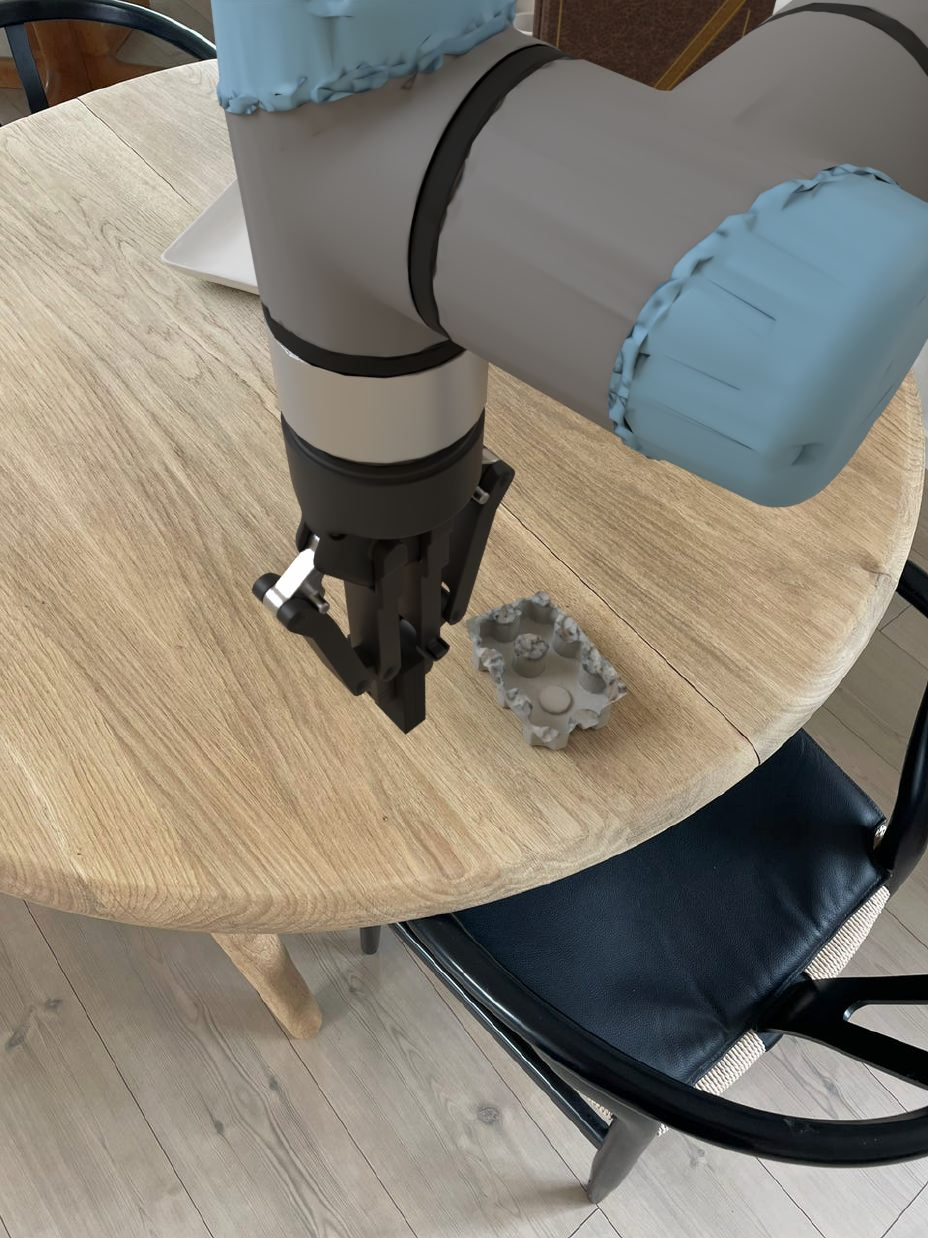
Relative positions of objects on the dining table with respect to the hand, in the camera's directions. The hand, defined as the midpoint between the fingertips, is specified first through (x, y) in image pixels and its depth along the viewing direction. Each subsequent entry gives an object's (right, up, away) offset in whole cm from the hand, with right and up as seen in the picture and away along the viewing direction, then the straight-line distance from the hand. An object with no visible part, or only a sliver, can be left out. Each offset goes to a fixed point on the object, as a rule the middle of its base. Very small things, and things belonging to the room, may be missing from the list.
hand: (400, 710), depth 55 cm
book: (+18, +44, +43) cm, 64 cm away
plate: (-11, +41, +40) cm, 58 cm away
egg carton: (+9, +1, +13) cm, 16 cm away
